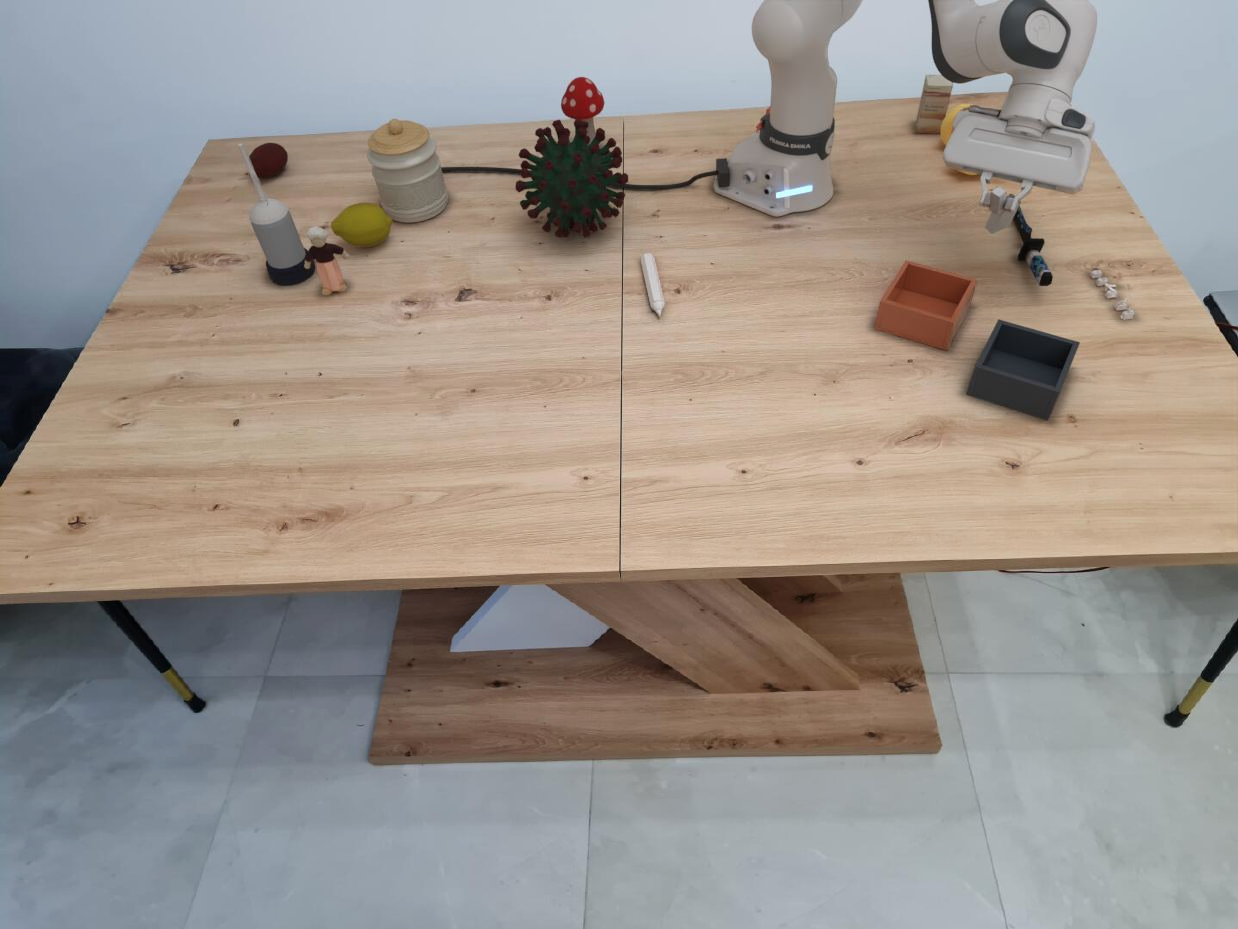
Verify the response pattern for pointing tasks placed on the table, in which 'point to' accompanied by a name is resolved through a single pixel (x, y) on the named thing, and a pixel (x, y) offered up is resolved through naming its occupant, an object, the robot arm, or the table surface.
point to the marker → (652, 283)
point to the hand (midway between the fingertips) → (996, 208)
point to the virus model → (572, 179)
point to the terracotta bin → (925, 304)
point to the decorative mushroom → (583, 102)
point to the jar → (407, 171)
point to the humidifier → (277, 236)
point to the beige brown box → (933, 104)
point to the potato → (268, 159)
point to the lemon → (362, 225)
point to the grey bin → (1022, 369)
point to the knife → (1032, 251)
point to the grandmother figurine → (325, 261)
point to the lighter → (999, 211)
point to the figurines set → (1113, 295)
